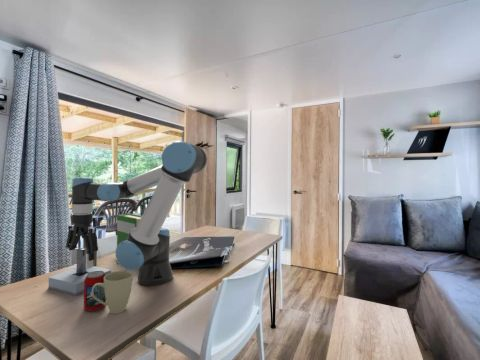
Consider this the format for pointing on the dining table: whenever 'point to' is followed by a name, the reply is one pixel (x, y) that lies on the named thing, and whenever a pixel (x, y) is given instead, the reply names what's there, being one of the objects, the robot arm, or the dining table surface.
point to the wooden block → (94, 255)
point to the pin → (81, 261)
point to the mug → (116, 290)
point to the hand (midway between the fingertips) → (81, 266)
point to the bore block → (72, 281)
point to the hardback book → (126, 225)
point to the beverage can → (99, 292)
